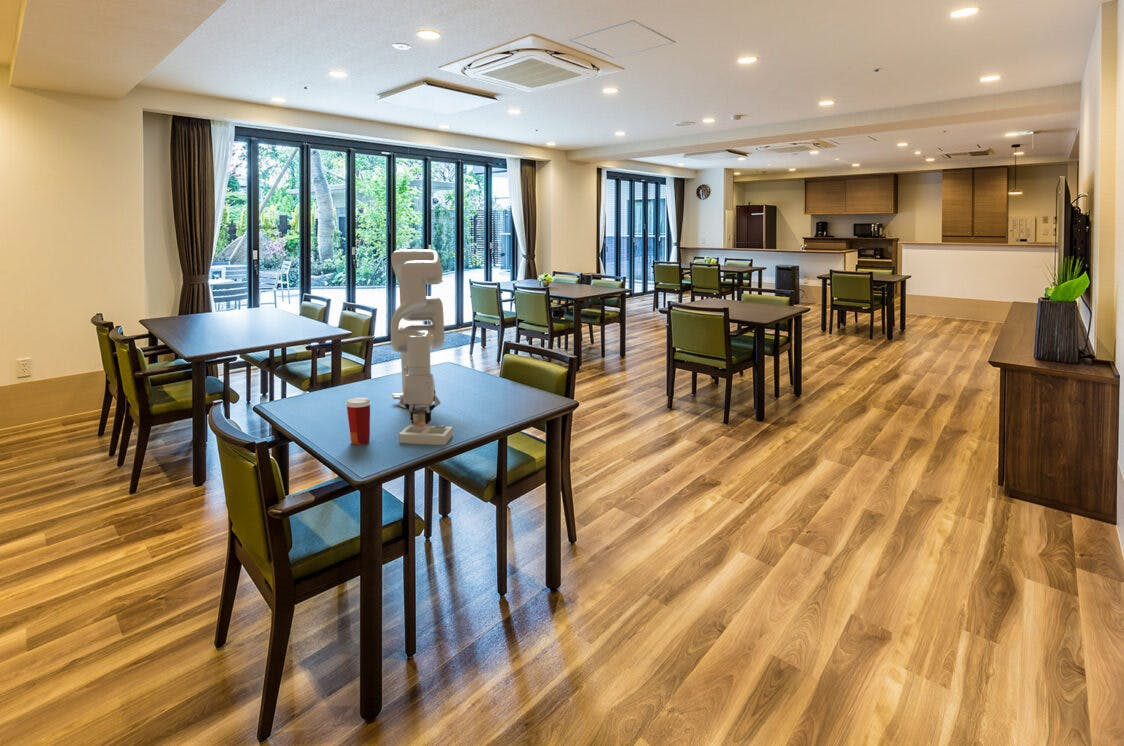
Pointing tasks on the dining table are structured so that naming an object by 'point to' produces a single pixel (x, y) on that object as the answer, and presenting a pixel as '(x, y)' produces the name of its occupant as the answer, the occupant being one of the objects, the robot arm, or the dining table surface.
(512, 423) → the dining table surface
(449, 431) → the socket block
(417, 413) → the plug
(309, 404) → the dining table surface
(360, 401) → the paper cup
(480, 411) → the dining table surface
